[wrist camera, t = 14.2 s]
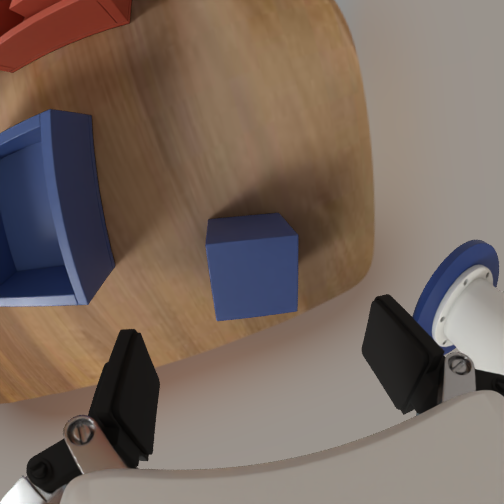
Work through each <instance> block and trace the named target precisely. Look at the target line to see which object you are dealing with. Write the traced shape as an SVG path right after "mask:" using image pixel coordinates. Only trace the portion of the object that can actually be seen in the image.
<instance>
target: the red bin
mask: <svg viewBox="0 0 504 504" xmlns="http://www.w3.org/2000/svg"><path fill="white" fill-rule="evenodd" d="M11 2H12V0H0V70H2V71H7V72H11V73H13V72H15V71H17V70H18V69H20V68H22V67H24V66H25V65H27V64H29V63H31V62H33V61H34V60H36V59H38V58H40V57H42V56H44V55H46V54H48V53H50V52H52V51H54V50H57V49H59V48H61V47H63V46H65V45H68V44H70V43H73V42H75V41H77V40H80V39H83V38H85V37H88V36H91V35H93V34H96V33H99V32H102V31H105V30H108V29H111V28H115V27H118V26H122V25H125V24H129V23H130V14H131V3H132V0H62V1H59V2H57V3H55V4H53V5H51V6H50V7H48V8H46V9H44V10H42V11H40V12H38V13H37V14H35V15H33V16H32V17H30V18H26V17H24V16H22V15H20V14H18V13H16V12H14V11H12V10H10V9H9V8H10V5H11Z"/></svg>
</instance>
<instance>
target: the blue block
mask: <svg viewBox="0 0 504 504" xmlns="http://www.w3.org/2000/svg"><path fill="white" fill-rule="evenodd" d="M205 246H206V253H207V261H208V268H209V275H210V282H211V288H212V295H213V301H214V308H215V314H216V320H217V321H224V320H233V319H242V318H251V317H259V316H267V315H274V314H282V313H289V312H296V311H297V306H298V234H297V233H296V232H295V231H294V230H293V229H292V227H291V226H290V225H289V224H288V223H287V222H286V221H285V219H284V218H283V217H282V216H281V215H280V214H279V213H271V214H259V215H248V216H237V217H227V218H217V219H209V220H208V226H207V235H206V244H205Z"/></svg>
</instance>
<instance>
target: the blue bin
mask: <svg viewBox="0 0 504 504" xmlns="http://www.w3.org/2000/svg"><path fill="white" fill-rule="evenodd" d="M114 267H115V263H114V259H113V255H112V251H111V247H110V243H109V238H108V234H107V229H106V224H105V220H104V214H103V209H102V204H101V198H100V192H99V186H98V179H97V171H96V163H95V155H94V145H93V133H92V116H91V115H86V114H80V113H74V112H67V111H60V110H53V109H49V110H47V111H44V112H42V113H41V114H38V115H35V116H33V117H31V118H29V119H27V120H25V121H23V122H21V123H19V124H17V125H15V126H13V127H11V128H9V129H7V130H5V131H3V132H2V133H0V307H18V306H66V305H88V304H89V303H90V301H91V300H92V298H93V297H94V295H95V294H96V293H97V291H98V290H99V288H100V287H101V285H102V284H103V283H104V281H105V280H106V278H107V277H108V276H109V274H110V273H111V271H112V270H113V269H114Z"/></svg>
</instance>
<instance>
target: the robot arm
mask: <svg viewBox="0 0 504 504" xmlns="http://www.w3.org/2000/svg"><path fill="white" fill-rule="evenodd" d="M432 337H433V338H432ZM432 337H431V336H430V335H429V334H428V333H427V332H426V331H425V330H424V329H423V328H422V327H421V326H420V325H419V324H418V323H417V322H416V321H415V320H414V319H413V317H412V316H410V314H409V313H408V312H407V311H406V310H405V309H404V308H403V307H402V306H401V305H400V304H398V303H397V302H396V300H394V299H393V297H391V296H390V295H388V294H386V295H382V296H377V297H376V298H375V300H374V301H373V302H372V304H371V309H370V314H369V319H368V323H367V328H366V332H365V337H364V341H363V345H362V354H363V356H364V358H365V359H366V361H367V362H368V364H369V365H370V367H371V369H372V370H373V371H374V373H375V375H376V376H377V378H378V379H379V381H380V383H381V384H382V386H383V387H384V389H385V391H386V392H387V394H388V395H389V397H390V399H391V400H392V402H393V403H394V405H395V407H396V408H397V409H399V410H401V411H402V413H403V414H406V413H408V412H410V411H412V410H414V409H415V410H416V412H417V414H416V416H415V417H413V418H411V419H409V420H406V421H404V422H402V423H400V424H398V425H395V426H393V427H390V428H388V429H386V430H383V431H381V432H378V433H375V434H373V435H370V436H367V437H365V438H362V439H359V440H356V441H353V442H350V443H347V444H344V445H341V446H338V447H335V448H331V449H328V450H324V451H320V452H316V453H312V454H308V455H304V456H300V457H295V458H290V459H286V460H280V461H275V462H268V463H263V464H256V465H248V466H239V467H230V468H217V469H194V470H158V469H157V470H156V469H138V468H137V466H138V464H139V460H140V461H148V456H149V454H152V453H153V443H154V433H155V422H156V413H157V404H158V396H159V388H160V382H159V378H158V376H157V373H156V371H155V368H154V366H153V363H152V361H151V359H150V356H149V354H148V351H147V348H146V346H145V343H144V340H143V338H142V335H141V333H137V332H136V330H135V329H126V330H120V332H119V335H118V337H117V340H116V343H115V345H114V348H113V351H112V353H111V356H110V359H109V362H107V363H106V364H105V365H104V368H103V370H102V373H101V376H100V379H99V382H98V385H97V388H96V391H95V394H94V397H93V401H92V404H91V407H90V410H89V414H88V416H87V415H78V416H75V417H73V418H71V419H70V420H69V421H68V422H67V423H66V425H65V427H64V430H63V436H64V439H63V440H61V441H59V442H58V443H56V444H54V445H53V446H51V447H49V448H48V449H46V450H44V451H42V452H41V453H39V454H38V455H35V456H34V457H33V458H31V459H30V460H29V462H28V464H27V476H26V477H24V476H22V477H21V478H20V479H19V480H18V481H17V483H16V484H15V485H14V486H13V487H12V488H11V489H10V491H9V492H8V493H7V494H6V495H5V496H4V497H3V498H2V500H1V502H0V504H504V292H501V291H500V290H498V289H497V288H496V287H494V286H493V277H492V273H491V271H490V270H489V269H488V268H487V267H485V266H483V265H479V264H478V265H474V266H472V267H470V268H468V269H467V270H466V271H464V272H463V273H462V274H461V275H460V276H459V277H458V278H457V279H456V280H455V281H454V283H453V284H452V285H451V286H450V288H449V289H448V291H447V292H446V294H445V295H444V297H443V299H442V301H441V302H440V305H439V307H438V309H437V311H436V314H435V317H434V320H433V325H432ZM453 344H454V345H455V346H456V348H457V349H458V350H459V351H460V352H461V353H459V352H454V353H450V354H449V355H447V357H446V358H445V356H444V355H443V354H444V352H445V351H444V350H443V349H442V348H441V347H440V346H442V347H447V346H451V345H453ZM475 368H476V369H475Z"/></svg>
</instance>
